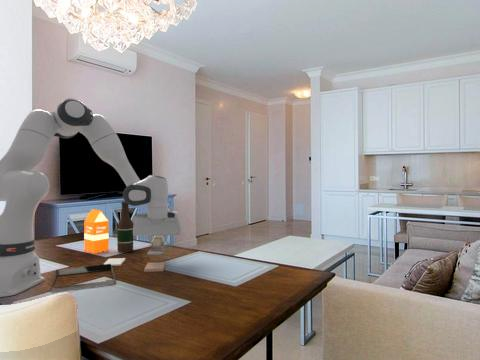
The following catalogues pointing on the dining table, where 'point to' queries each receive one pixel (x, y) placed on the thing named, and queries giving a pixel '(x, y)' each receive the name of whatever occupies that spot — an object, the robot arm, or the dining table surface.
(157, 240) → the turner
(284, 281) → the dining table surface
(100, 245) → the orange juice
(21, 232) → the robot arm
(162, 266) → the tile
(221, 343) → the dining table surface
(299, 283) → the dining table surface
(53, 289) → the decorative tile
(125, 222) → the beer bottle
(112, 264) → the mat
